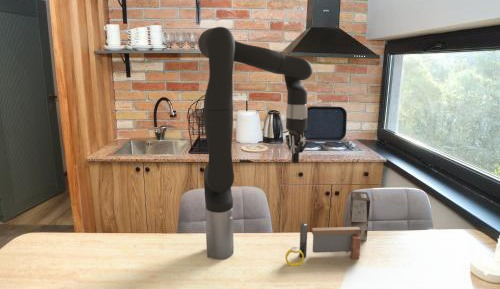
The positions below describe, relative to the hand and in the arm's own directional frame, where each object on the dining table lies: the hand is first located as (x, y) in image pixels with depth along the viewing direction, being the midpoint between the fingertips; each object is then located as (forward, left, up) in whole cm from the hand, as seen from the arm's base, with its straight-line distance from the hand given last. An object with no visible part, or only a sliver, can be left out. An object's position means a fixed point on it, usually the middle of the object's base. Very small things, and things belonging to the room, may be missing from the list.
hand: (295, 162), depth 128 cm
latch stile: (+18, -18, -29) cm, 39 cm away
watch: (-3, -21, -29) cm, 36 cm away
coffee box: (+25, -2, -29) cm, 38 cm away
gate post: (+1, -16, -29) cm, 33 cm away
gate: (+12, -16, -28) cm, 34 cm away
